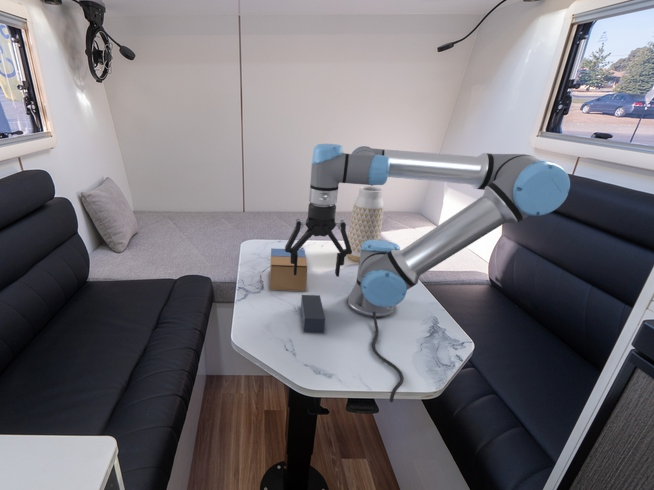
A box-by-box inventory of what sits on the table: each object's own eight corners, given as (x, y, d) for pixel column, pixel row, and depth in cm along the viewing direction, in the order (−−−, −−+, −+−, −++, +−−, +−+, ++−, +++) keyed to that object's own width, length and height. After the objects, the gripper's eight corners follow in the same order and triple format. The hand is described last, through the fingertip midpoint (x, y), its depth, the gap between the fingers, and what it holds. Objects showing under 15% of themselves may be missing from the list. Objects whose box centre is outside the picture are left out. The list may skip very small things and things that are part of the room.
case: (323, 332, 112) (325, 318, 110) (303, 332, 112) (304, 318, 110) (318, 308, 125) (319, 295, 123) (300, 307, 125) (301, 294, 123)
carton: (270, 271, 149) (271, 248, 145) (302, 272, 149) (304, 249, 144) (269, 289, 136) (270, 264, 131) (305, 291, 135) (307, 265, 131)
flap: (271, 249, 145) (271, 248, 145) (304, 250, 144) (304, 249, 144) (271, 256, 138) (271, 255, 138) (305, 257, 138) (305, 256, 138)
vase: (356, 266, 155) (367, 193, 142) (338, 254, 166) (347, 185, 153) (383, 262, 160) (396, 191, 146) (364, 250, 171) (374, 183, 158)
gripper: (278, 205, 99) (275, 278, 108) (370, 208, 98) (358, 281, 108) (278, 198, 106) (275, 267, 115) (363, 200, 105) (353, 269, 115)
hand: (315, 273), depth 112 cm, fingers open, 12 cm apart
